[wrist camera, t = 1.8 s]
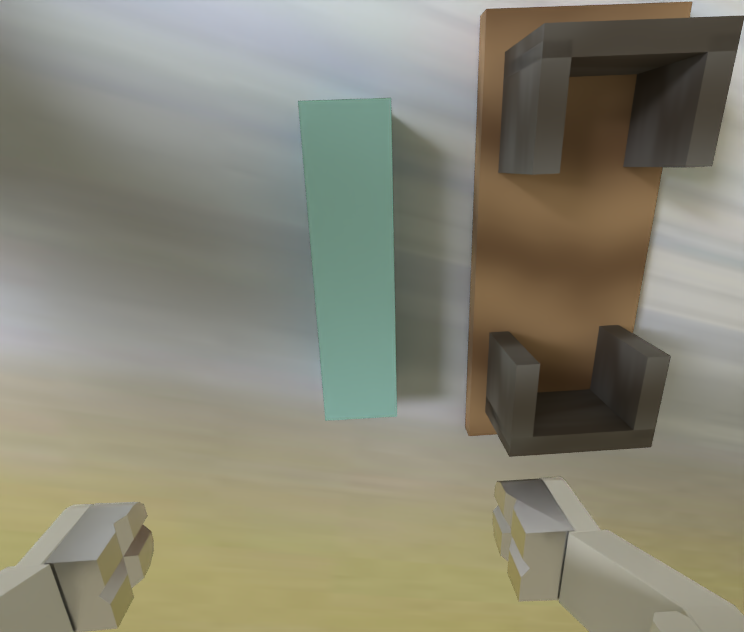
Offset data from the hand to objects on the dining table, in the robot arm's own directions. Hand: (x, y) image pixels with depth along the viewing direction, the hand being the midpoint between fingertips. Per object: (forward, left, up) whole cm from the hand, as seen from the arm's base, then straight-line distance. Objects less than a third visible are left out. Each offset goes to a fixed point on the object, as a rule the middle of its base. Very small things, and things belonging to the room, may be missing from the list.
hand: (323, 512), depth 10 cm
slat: (-2, +1, -17) cm, 17 cm away
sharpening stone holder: (-2, +13, -17) cm, 21 cm away
